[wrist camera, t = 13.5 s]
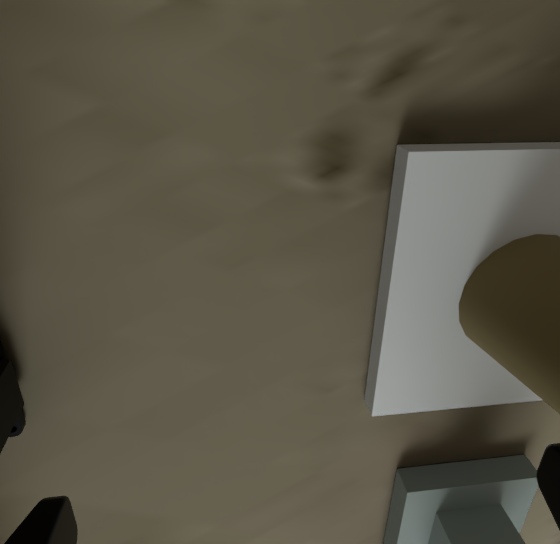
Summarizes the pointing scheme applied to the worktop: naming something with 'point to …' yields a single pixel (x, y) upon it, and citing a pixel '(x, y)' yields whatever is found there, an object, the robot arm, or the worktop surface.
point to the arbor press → (454, 326)
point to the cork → (519, 312)
